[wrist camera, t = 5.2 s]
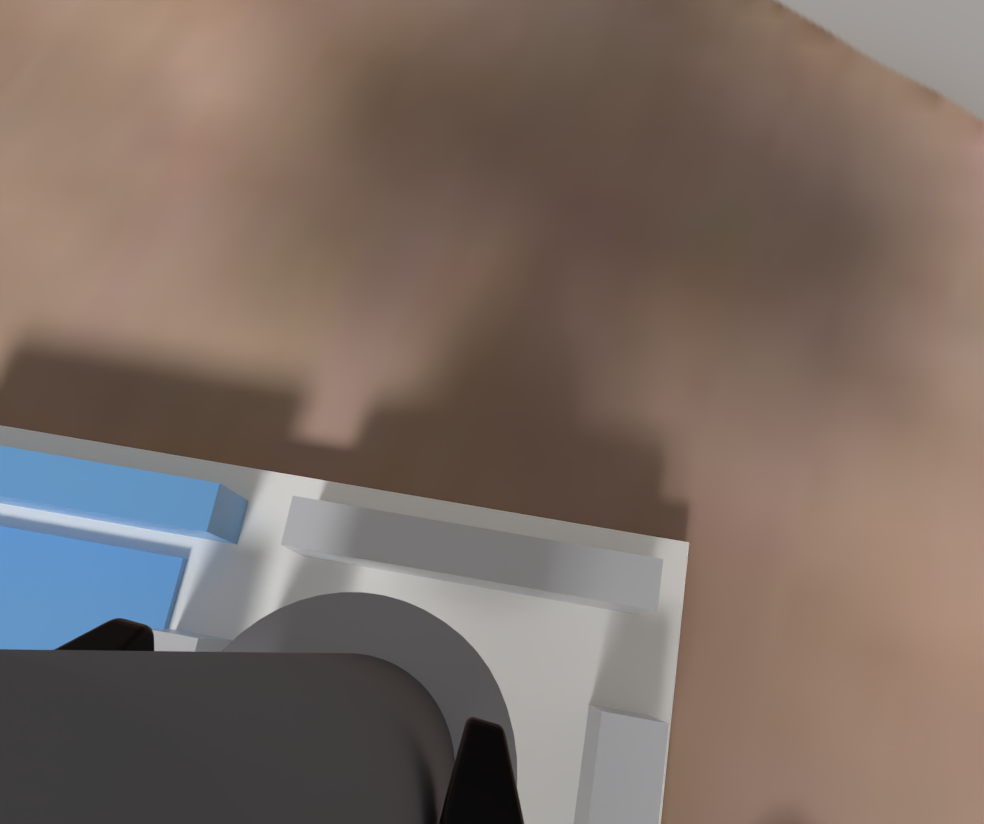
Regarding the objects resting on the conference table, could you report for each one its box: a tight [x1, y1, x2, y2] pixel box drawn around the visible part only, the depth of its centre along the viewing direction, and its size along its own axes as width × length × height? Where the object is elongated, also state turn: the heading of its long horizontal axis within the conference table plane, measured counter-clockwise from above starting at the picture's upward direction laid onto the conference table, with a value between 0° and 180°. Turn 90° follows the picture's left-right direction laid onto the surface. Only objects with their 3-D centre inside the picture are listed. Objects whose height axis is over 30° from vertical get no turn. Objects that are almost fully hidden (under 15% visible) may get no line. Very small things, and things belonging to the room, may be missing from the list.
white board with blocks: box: [0, 425, 689, 824], centre depth 20 cm, size 22×12×4 cm, turn 80°
